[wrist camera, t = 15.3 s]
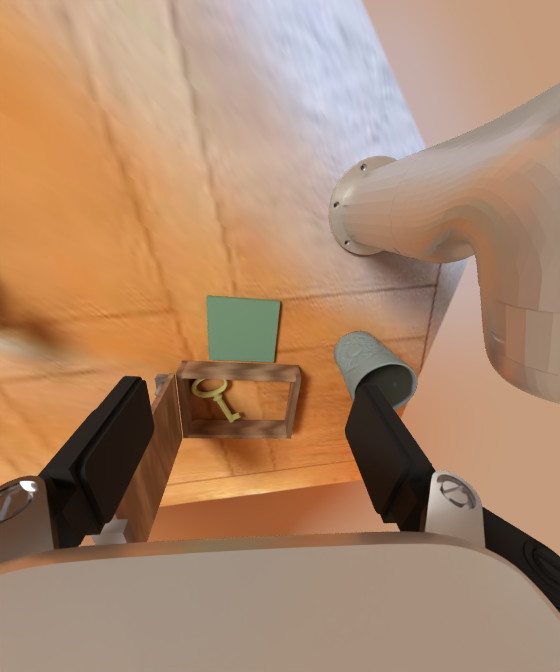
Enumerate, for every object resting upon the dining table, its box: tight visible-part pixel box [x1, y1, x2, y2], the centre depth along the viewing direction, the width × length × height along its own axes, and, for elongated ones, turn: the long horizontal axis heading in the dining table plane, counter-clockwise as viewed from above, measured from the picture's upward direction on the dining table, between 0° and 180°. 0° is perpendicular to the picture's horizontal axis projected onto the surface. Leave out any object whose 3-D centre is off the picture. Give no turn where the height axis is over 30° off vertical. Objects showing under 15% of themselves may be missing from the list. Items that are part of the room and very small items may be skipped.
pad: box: [207, 296, 280, 362], centre depth 42 cm, size 12×12×1 cm
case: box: [91, 361, 301, 545], centre depth 38 cm, size 25×16×25 cm, turn 84°
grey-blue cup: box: [334, 331, 417, 411], centre depth 41 cm, size 10×10×12 cm
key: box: [192, 379, 241, 423], centre depth 47 cm, size 7×12×2 cm, turn 40°
